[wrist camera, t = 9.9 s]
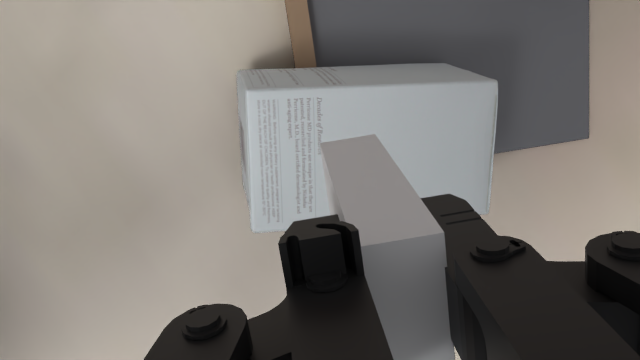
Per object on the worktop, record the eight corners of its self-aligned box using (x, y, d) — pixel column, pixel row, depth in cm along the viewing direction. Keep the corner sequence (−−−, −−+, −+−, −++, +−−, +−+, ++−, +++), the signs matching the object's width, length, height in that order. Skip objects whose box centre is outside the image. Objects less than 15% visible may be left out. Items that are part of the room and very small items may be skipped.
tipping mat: (313, 181, 39) (314, 187, 37) (276, -52, 34) (276, -53, 33) (586, 137, 39) (595, 141, 38) (586, -99, 34) (597, -102, 33)
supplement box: (250, 238, 30) (493, 218, 32) (241, 86, 28) (503, 75, 30) (242, 191, 37) (442, 177, 39) (235, 67, 34) (447, 59, 36)
